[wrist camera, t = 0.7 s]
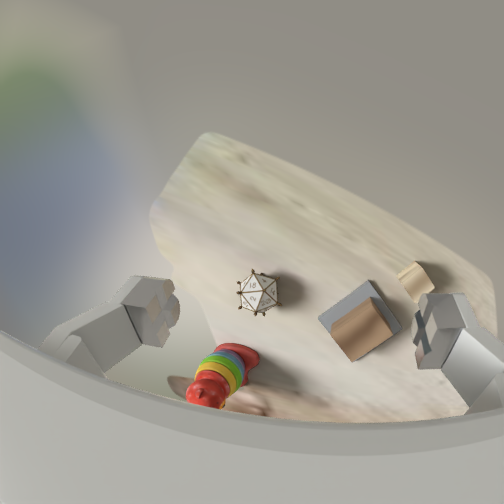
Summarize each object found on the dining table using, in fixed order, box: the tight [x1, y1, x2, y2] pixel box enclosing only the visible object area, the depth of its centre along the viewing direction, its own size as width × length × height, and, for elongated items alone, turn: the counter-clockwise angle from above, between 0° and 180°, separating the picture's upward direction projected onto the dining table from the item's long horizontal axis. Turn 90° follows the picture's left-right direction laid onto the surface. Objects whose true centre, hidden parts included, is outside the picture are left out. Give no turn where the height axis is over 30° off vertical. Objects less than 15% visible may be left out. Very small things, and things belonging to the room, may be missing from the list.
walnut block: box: [330, 297, 393, 362], centre depth 50 cm, size 7×9×5 cm
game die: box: [237, 269, 282, 316], centre depth 55 cm, size 9×8×10 cm
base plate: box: [318, 280, 402, 362], centre depth 53 cm, size 12×12×1 cm
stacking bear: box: [186, 343, 260, 409], centre depth 55 cm, size 11×10×18 cm
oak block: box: [396, 261, 435, 303], centre depth 47 cm, size 4×4×6 cm
